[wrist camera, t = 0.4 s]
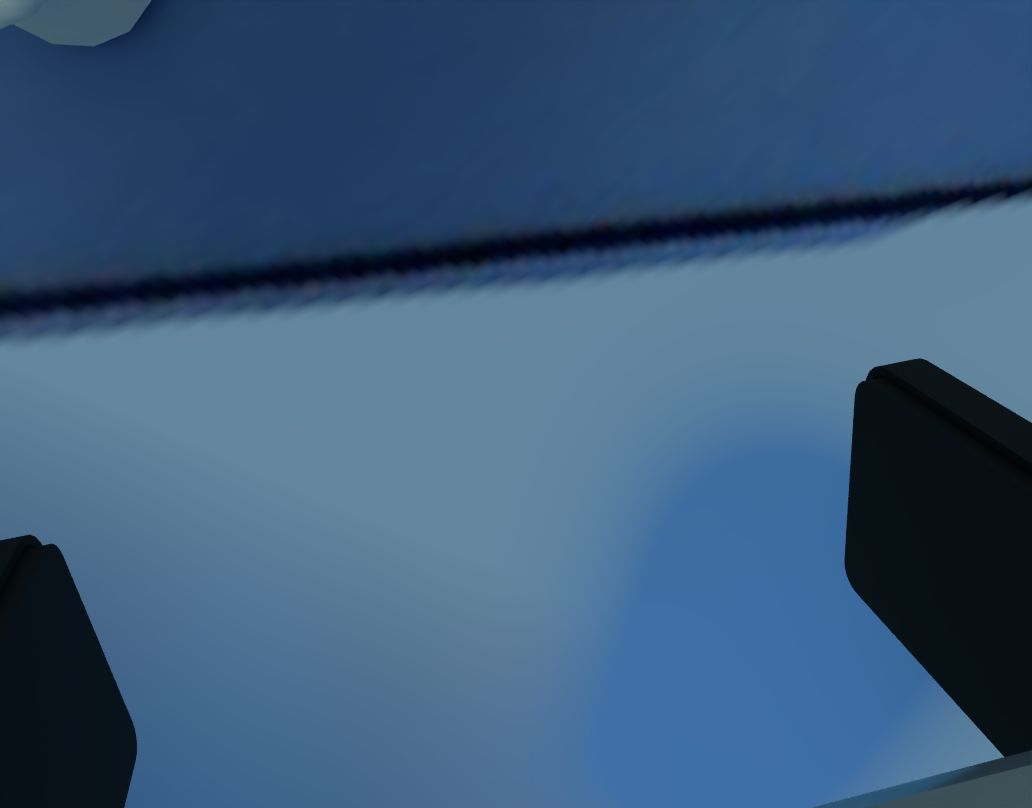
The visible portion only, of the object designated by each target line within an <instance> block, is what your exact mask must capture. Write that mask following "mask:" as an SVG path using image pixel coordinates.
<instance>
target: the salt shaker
mask: <svg viewBox="0 0 1032 808" xmlns="http://www.w3.org/2000/svg"><path fill="white" fill-rule="evenodd" d="M150 2H151V0H0V29H2V28H4V27H7V26H9V25H12V24H13V25H15V26H17V27H19V28H21V29H23V30H25V31H27V32H29V33H31V34H33V35H35V36H37V37H39V38H41V39H43V40H45V41H47V42H49V43H51V44H59V45H76V46H93V47H94V46H96V45H99V44H101V43H103V42H106V41H108V40H110V39H113V38H115V37H118V36H120V35H122V34H125V33H127V32H130V30H131V29H132V27H133V26H134V25H135V23H136V22H137V20H138V19H139V17H140V16H141V15H142V13H143V12H144V10H145V9H146V8H147V6H148V5H149V3H150Z"/></svg>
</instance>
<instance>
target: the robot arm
mask: <svg viewBox="0 0 1032 808" xmlns="http://www.w3.org/2000/svg"><path fill="white" fill-rule="evenodd" d="M854 403H855V404H854V418H853V434H852V449H851V465H850V482H849V497H848V513H847V529H846V545H845V570H846V574H847V577H848V580H849V582H850V584H851V586H852V588H853V589H854V590H855V592H856V593H857V594H858V595H859V596H860V597H861V599H862V600H863V601H864V602H865V603H866V604H867V605H868V606H869V607H870V608H871V610H872V611H873V612H874V613H875V614H876V615H877V616H878V617H879V618H880V619H881V621H882V622H883V623H884V624H885V625H886V626H887V627H888V628H889V629H890V631H891V632H892V633H893V634H894V635H895V636H896V637H897V638H898V640H900V641H901V643H902V644H903V645H904V646H905V647H906V648H907V650H908V651H909V652H910V653H911V654H912V655H913V656H914V657H915V658H916V659H917V661H918V662H919V663H920V664H921V665H922V666H923V667H924V668H925V669H926V671H927V672H928V673H929V674H930V675H931V676H932V677H933V678H934V679H935V680H936V682H937V683H938V684H939V685H940V686H941V687H942V688H943V689H944V691H946V693H947V694H948V695H949V696H950V697H951V698H952V699H953V700H954V702H955V703H956V704H957V705H958V706H959V707H960V708H961V709H962V710H963V712H964V713H965V714H966V715H967V716H968V717H969V718H970V719H971V720H972V722H974V724H975V725H976V726H977V727H978V728H979V729H980V730H981V732H982V733H983V734H984V735H985V736H986V737H987V738H988V739H989V740H990V741H991V743H992V744H994V746H995V747H996V748H997V749H998V750H999V751H1000V753H1001V754H1002V755H1003V756H1004V758H1000V759H996V760H992V761H988V762H984V763H981V764H977V765H973V766H969V767H965V768H962V769H958V770H954V771H950V772H946V773H942V774H939V775H935V776H931V777H927V778H923V779H919V780H916V781H912V782H908V783H904V784H900V785H896V786H892V787H889V788H885V789H881V790H877V791H873V792H869V793H866V794H862V795H858V796H854V797H850V798H846V799H842V800H839V801H835V802H831V803H827V804H824V805H820V806H816V807H812V808H1032V423H1031V422H1029V421H1027V420H1026V419H1024V418H1023V417H1021V416H1019V415H1017V414H1016V413H1014V412H1012V411H1011V410H1009V409H1007V408H1006V407H1004V406H1002V405H1001V404H999V403H997V402H996V401H994V400H992V399H991V398H989V397H987V396H986V395H984V394H982V393H981V392H979V391H977V390H976V389H974V388H972V387H971V386H969V385H967V384H965V383H964V382H962V381H960V380H959V379H957V378H955V377H954V376H952V375H950V374H949V373H947V372H945V371H944V370H942V369H940V368H939V367H937V366H935V365H933V364H932V363H930V362H929V361H927V360H924V359H913V360H908V361H903V362H898V363H893V364H888V365H884V366H878V367H874V368H873V369H872V370H871V371H870V372H869V374H868V376H867V378H866V381H862V382H861V383H860V384H859V385H858V386H857V388H856V392H855V402H854ZM136 755H137V740H136V733H135V728H134V725H133V722H132V720H131V717H130V715H129V713H128V710H127V708H126V705H125V703H124V701H123V698H122V696H121V694H120V691H119V689H118V686H117V684H116V681H115V679H114V677H113V674H112V672H111V669H110V667H109V665H108V662H107V660H106V657H105V655H104V653H103V650H102V648H101V645H100V643H99V641H98V638H97V636H96V633H95V631H94V629H93V626H92V624H91V622H90V619H89V617H88V615H87V612H86V610H85V607H84V605H83V602H82V600H81V598H80V595H79V593H78V590H77V588H76V586H75V583H74V581H73V578H72V576H71V574H70V571H69V569H68V566H67V564H66V562H65V559H64V557H63V555H62V553H61V551H60V549H59V548H58V547H57V546H56V545H54V544H48V545H43V546H42V544H41V542H40V541H39V540H38V539H37V538H36V537H34V536H32V535H26V536H21V537H16V538H11V539H5V540H0V808H124V806H125V802H126V798H127V794H128V790H129V786H130V781H131V778H132V773H133V769H134V765H135V761H136Z"/></svg>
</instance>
